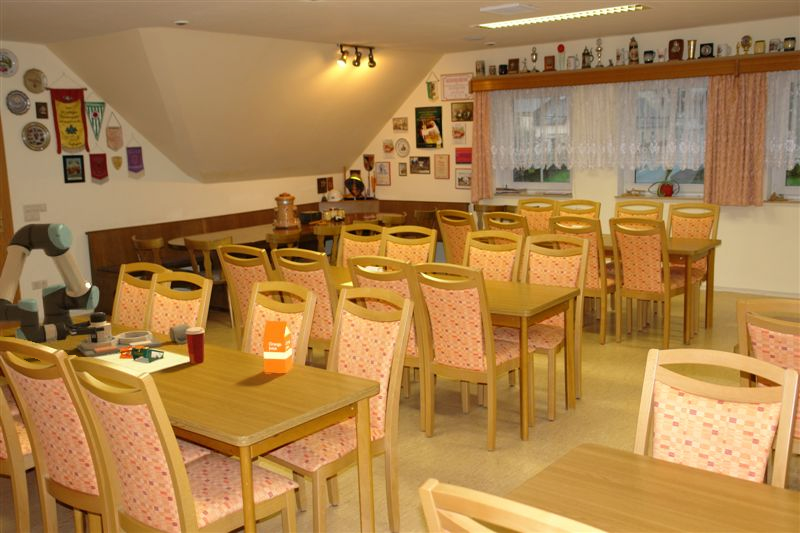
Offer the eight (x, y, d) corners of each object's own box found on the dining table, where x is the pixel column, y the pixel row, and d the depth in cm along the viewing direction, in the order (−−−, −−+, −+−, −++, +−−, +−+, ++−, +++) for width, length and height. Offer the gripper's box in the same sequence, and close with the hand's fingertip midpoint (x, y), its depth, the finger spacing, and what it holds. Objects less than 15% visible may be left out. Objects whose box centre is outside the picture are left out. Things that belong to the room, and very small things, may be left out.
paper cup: (209, 359, 322) (207, 326, 320) (202, 364, 314) (200, 331, 312) (191, 359, 323) (188, 326, 321) (184, 364, 315) (181, 331, 313)
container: (105, 343, 341) (102, 315, 339) (87, 344, 341) (85, 315, 339) (112, 339, 349) (109, 311, 347) (95, 339, 349) (92, 311, 347)
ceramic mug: (169, 340, 356) (168, 324, 355) (186, 338, 361) (185, 322, 359) (175, 345, 347) (174, 329, 346) (193, 343, 352) (192, 326, 350)
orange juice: (286, 374, 298) (283, 323, 295) (264, 373, 300) (261, 323, 297) (292, 368, 306) (290, 319, 303) (271, 367, 307) (269, 318, 304)
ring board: (77, 347, 348) (76, 339, 347) (148, 337, 365) (148, 328, 364) (87, 358, 329) (86, 348, 329) (162, 346, 346) (161, 337, 346)
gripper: (51, 335, 344) (103, 328, 356) (60, 346, 325) (115, 338, 337) (50, 319, 343) (102, 312, 355) (59, 328, 324) (113, 321, 336)
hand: (108, 325), depth 346 cm, fingers closed on container, 10 cm apart
